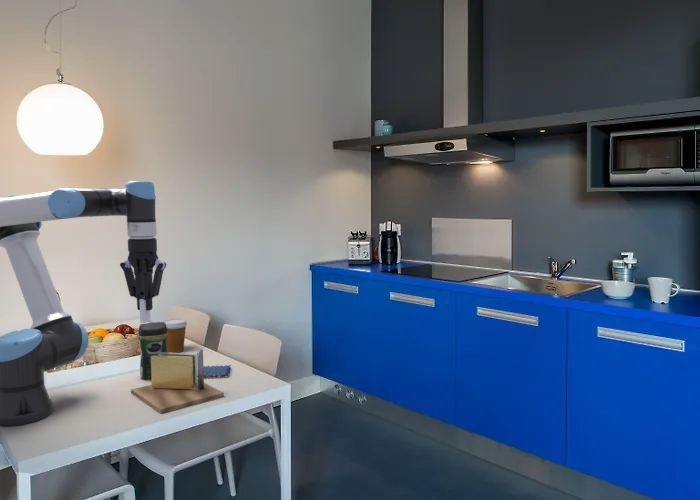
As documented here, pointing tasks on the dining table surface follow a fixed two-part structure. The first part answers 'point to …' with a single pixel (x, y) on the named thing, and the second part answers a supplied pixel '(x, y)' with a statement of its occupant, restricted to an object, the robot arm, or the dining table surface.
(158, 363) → the panel
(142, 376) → the coffee jar
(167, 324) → the disposable coffee cup
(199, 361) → the steel leaf and pin
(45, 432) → the dining table surface
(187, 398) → the walnut board
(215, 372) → the woven mat
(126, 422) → the dining table surface
